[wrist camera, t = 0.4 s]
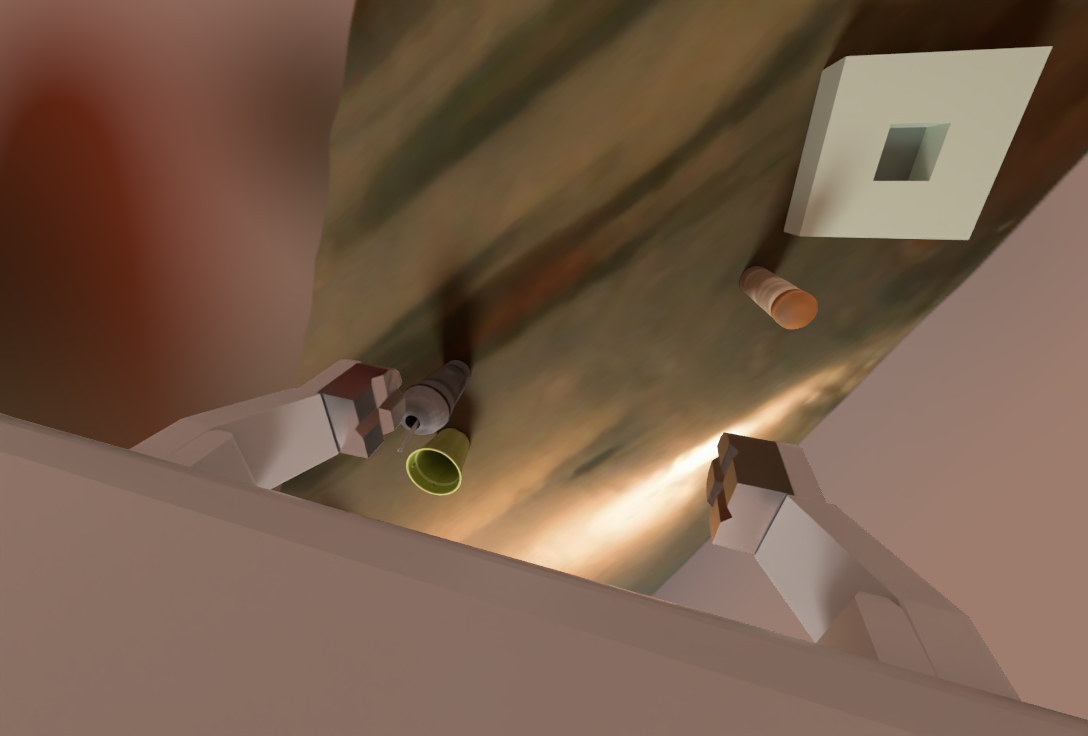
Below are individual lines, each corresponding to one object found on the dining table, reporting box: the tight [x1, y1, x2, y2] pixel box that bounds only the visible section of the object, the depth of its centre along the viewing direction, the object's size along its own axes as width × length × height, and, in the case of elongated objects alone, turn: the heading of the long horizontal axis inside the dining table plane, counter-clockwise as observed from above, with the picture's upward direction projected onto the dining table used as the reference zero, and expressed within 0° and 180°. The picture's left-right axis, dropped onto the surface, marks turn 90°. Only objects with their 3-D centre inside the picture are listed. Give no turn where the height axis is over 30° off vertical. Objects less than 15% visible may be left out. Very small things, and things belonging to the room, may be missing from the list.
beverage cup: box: [398, 360, 471, 452], centre depth 56 cm, size 7×7×20 cm
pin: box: [739, 266, 818, 329], centre depth 44 cm, size 4×4×14 cm
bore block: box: [783, 46, 1052, 240], centre depth 41 cm, size 16×16×5 cm
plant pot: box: [406, 428, 470, 495], centre depth 67 cm, size 9×9×9 cm
